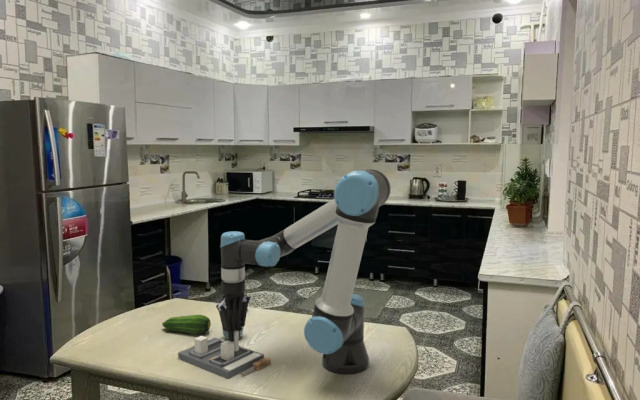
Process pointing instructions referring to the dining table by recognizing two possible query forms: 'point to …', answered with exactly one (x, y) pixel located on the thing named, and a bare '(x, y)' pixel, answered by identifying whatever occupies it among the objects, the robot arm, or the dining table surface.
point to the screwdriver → (259, 365)
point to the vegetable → (188, 324)
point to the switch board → (216, 364)
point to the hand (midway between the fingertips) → (234, 349)
